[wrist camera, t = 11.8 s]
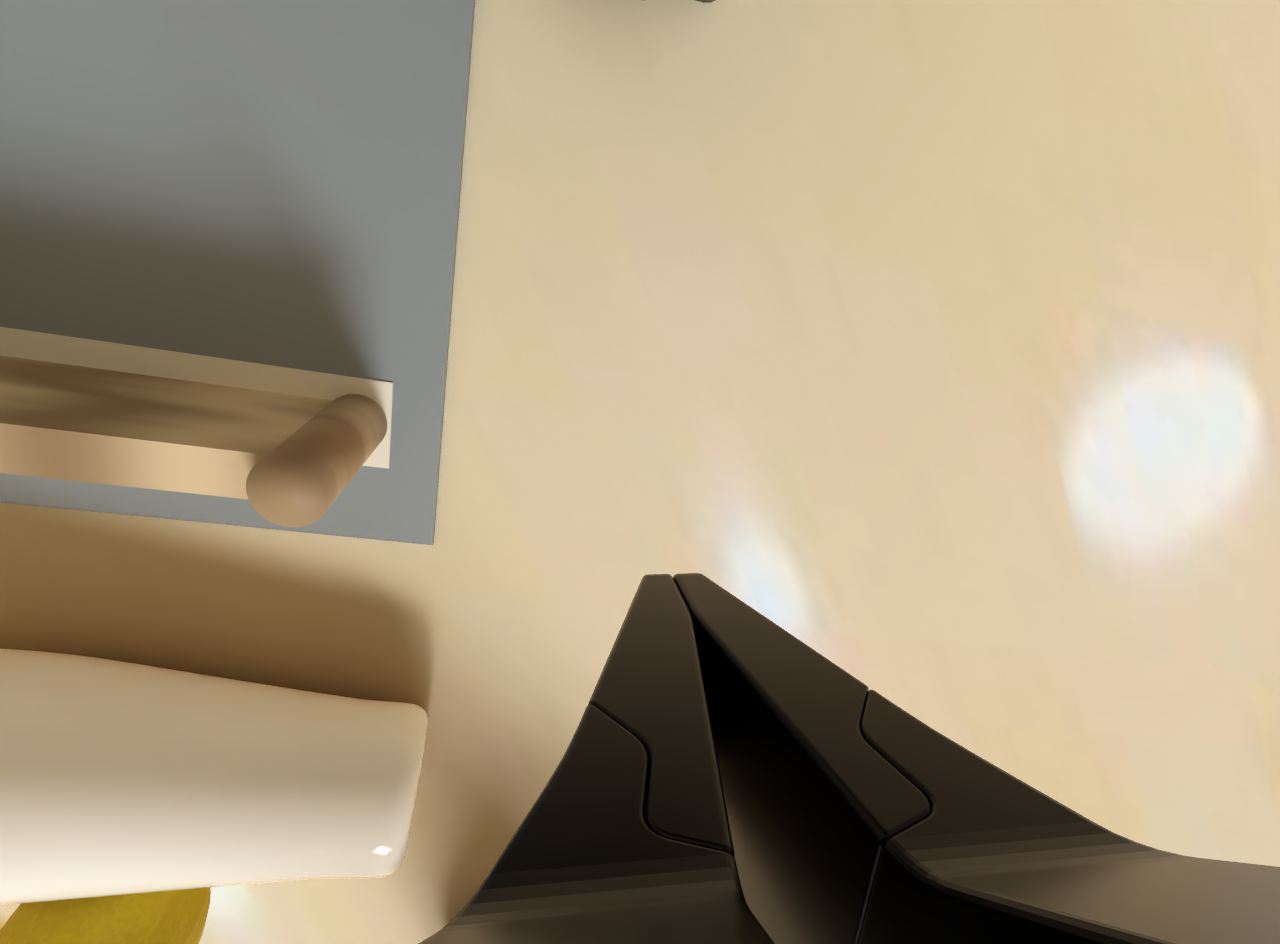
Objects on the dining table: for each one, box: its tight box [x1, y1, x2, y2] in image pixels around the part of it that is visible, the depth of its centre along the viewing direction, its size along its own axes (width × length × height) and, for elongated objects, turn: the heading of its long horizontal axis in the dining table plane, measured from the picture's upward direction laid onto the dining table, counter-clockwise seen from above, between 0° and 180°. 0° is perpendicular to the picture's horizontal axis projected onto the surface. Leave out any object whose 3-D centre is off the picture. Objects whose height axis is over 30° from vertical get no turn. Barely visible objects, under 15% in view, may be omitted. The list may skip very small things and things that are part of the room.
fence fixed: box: [0, 355, 387, 527], centre depth 16 cm, size 15×2×6 cm, turn 79°
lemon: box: [0, 887, 211, 944], centre depth 21 cm, size 6×6×8 cm
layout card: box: [0, 0, 475, 545], centre depth 16 cm, size 19×20×1 cm
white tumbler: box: [0, 648, 428, 905], centre depth 20 cm, size 7×7×15 cm
